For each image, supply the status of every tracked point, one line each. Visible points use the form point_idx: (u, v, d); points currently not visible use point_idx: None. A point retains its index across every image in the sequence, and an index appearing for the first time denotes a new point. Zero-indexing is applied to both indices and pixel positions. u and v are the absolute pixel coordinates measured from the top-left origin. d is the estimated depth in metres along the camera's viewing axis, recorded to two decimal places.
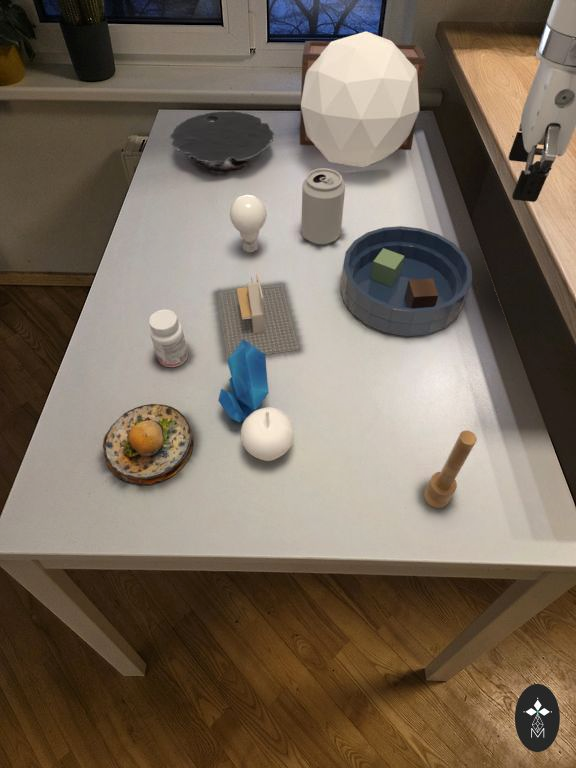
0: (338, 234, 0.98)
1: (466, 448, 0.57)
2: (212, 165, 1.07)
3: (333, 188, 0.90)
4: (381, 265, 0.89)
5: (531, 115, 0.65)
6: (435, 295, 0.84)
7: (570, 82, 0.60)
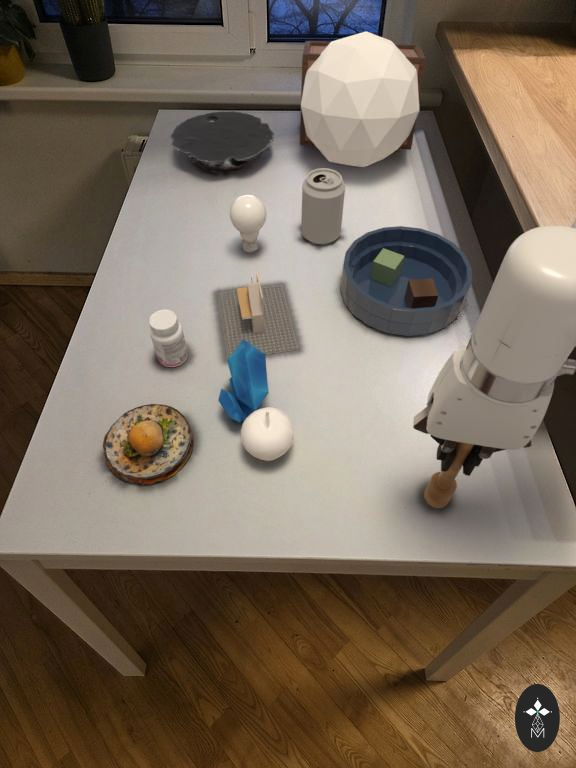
0: (338, 234, 0.98)
1: (466, 448, 0.57)
2: (212, 165, 1.07)
3: (333, 188, 0.90)
4: (381, 265, 0.89)
5: (509, 432, 0.50)
6: (435, 295, 0.84)
7: None
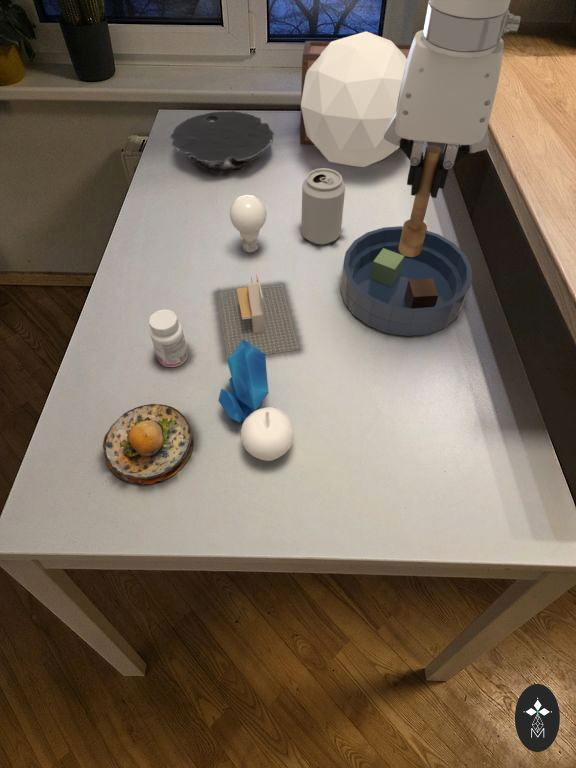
0: (338, 234, 0.98)
1: (432, 159, 0.63)
2: (212, 165, 1.07)
3: (333, 188, 0.90)
4: (381, 265, 0.89)
5: (467, 112, 0.57)
6: (435, 295, 0.84)
7: (502, 54, 0.54)
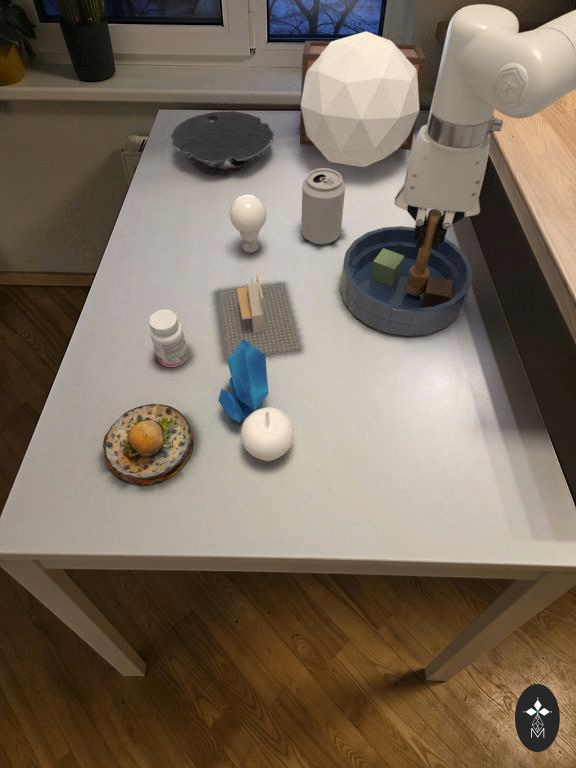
0: (338, 234, 0.98)
1: (433, 221, 0.77)
2: (212, 165, 1.07)
3: (333, 188, 0.90)
4: (381, 265, 0.89)
5: (461, 189, 0.71)
6: (447, 296, 0.84)
7: (489, 145, 0.68)
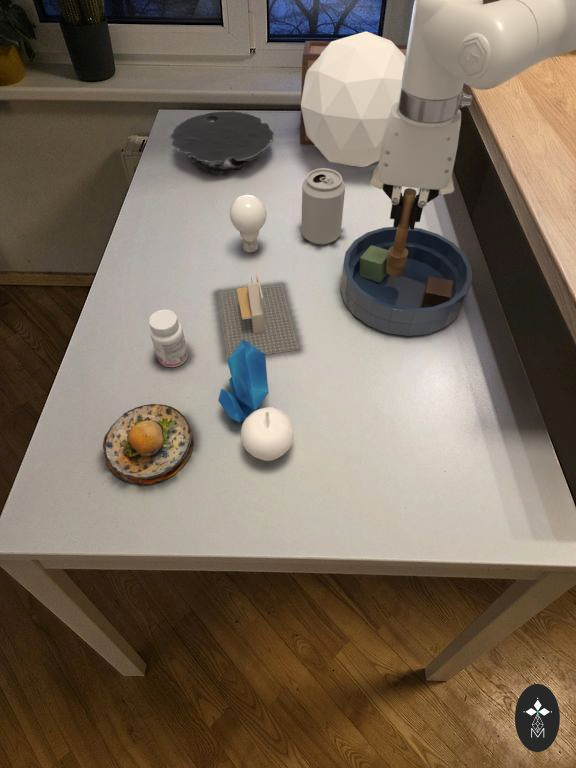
0: (338, 234, 0.98)
1: (409, 199, 0.78)
2: (212, 165, 1.07)
3: (333, 188, 0.90)
4: (368, 261, 0.89)
5: (434, 166, 0.71)
6: (447, 296, 0.84)
7: (460, 122, 0.69)
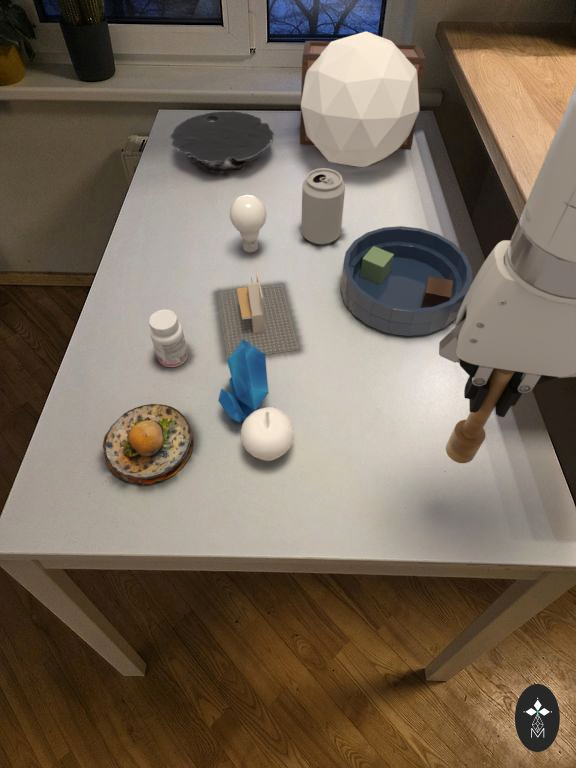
0: (338, 234, 0.98)
1: (502, 380, 0.47)
2: (212, 165, 1.07)
3: (333, 188, 0.90)
4: (370, 262, 0.89)
5: (562, 349, 0.41)
6: (447, 296, 0.84)
7: None
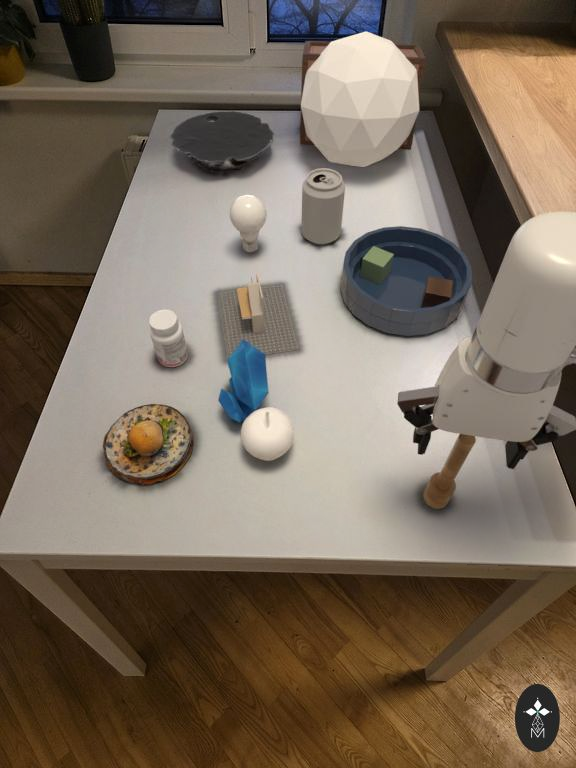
0: (338, 234, 0.98)
1: (465, 449, 0.56)
2: (212, 165, 1.07)
3: (333, 188, 0.90)
4: (370, 262, 0.89)
5: (517, 423, 0.50)
6: (447, 296, 0.84)
7: None
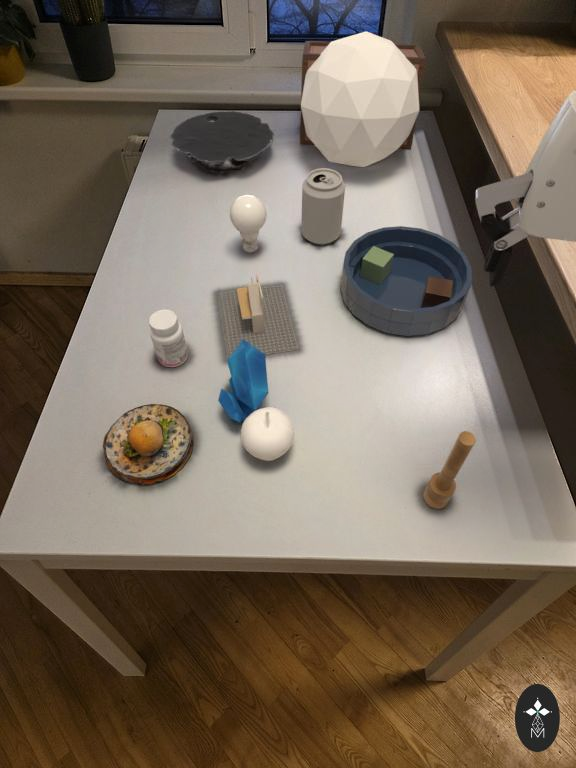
0: (338, 234, 0.98)
1: (465, 449, 0.56)
2: (212, 165, 1.07)
3: (333, 188, 0.90)
4: (370, 262, 0.89)
5: None
6: (447, 296, 0.84)
7: None
